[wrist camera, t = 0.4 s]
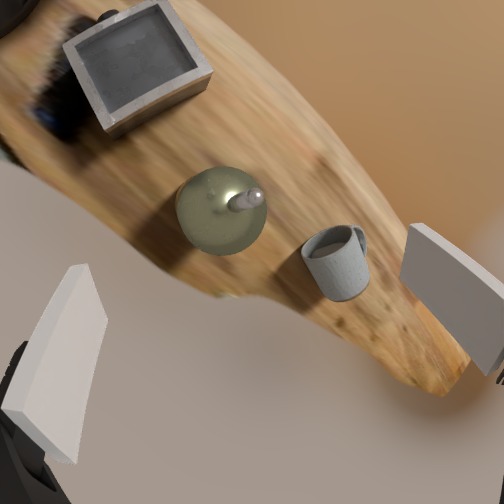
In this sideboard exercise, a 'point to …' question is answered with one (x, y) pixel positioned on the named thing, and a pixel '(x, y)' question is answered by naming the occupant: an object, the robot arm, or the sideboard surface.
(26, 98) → the sideboard surface
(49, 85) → the sideboard surface
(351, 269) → the ceramic mug
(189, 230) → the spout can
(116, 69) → the grey rectangular tray
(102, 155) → the sideboard surface
